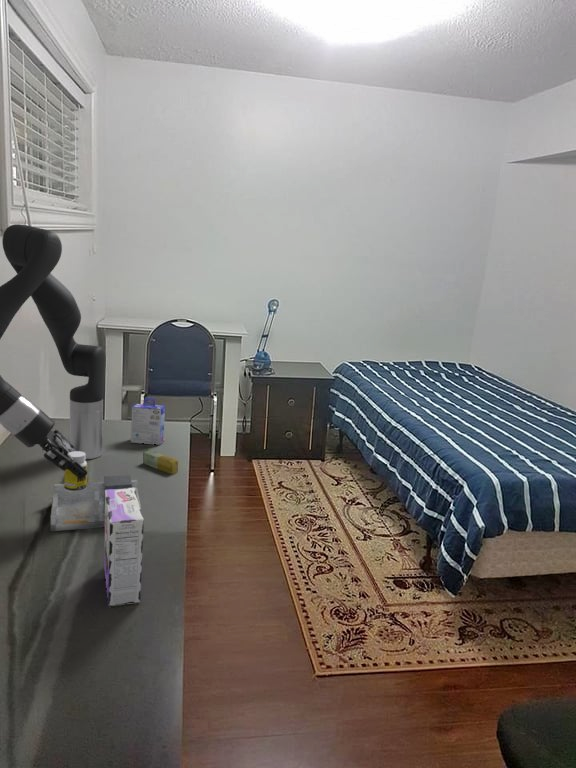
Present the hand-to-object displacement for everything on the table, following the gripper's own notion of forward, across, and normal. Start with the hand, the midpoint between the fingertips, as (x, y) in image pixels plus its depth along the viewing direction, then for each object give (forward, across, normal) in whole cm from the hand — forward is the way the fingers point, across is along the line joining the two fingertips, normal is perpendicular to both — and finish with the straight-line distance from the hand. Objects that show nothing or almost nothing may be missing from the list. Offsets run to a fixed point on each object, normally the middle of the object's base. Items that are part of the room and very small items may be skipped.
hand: (84, 471), depth 123 cm
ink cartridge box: (+22, +52, -6) cm, 56 cm away
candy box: (+13, -29, +3) cm, 32 cm away
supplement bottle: (+2, 0, +4) cm, 5 cm away
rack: (+10, +1, +6) cm, 12 cm away
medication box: (+23, +28, -7) cm, 37 cm away
